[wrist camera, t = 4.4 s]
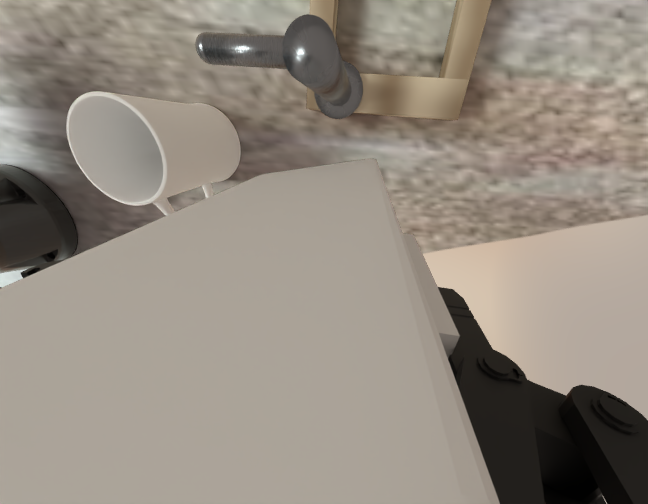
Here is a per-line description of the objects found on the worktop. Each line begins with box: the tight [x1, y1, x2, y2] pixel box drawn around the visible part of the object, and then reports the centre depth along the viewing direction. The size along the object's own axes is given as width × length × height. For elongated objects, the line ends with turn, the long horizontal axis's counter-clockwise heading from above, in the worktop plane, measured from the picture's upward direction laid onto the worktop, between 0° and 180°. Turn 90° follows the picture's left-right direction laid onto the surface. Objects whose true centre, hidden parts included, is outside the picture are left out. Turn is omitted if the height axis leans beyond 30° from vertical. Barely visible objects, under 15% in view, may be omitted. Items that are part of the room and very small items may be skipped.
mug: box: [66, 91, 241, 216], centre depth 25 cm, size 12×8×12 cm
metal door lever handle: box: [196, 15, 363, 119], centre depth 18 cm, size 8×4×16 cm, turn 86°
